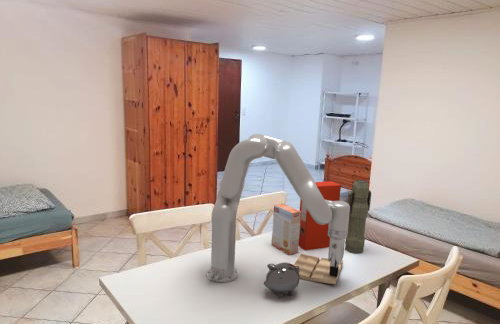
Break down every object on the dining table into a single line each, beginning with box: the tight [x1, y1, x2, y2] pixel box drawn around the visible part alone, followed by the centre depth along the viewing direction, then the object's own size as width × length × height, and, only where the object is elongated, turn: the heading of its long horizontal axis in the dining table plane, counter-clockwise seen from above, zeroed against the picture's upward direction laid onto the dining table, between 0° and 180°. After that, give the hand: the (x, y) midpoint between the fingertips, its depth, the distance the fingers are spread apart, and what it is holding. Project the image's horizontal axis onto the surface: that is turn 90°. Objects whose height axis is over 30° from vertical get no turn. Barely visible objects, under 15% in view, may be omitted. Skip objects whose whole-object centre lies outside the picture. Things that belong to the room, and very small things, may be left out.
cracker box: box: [271, 203, 301, 256], centre depth 175 cm, size 14×6×21 cm, turn 33°
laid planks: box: [293, 253, 321, 282], centre depth 158 cm, size 20×9×2 cm, turn 157°
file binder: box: [298, 180, 342, 252], centre depth 179 cm, size 8×17×32 cm, turn 111°
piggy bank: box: [263, 262, 301, 299], centre depth 137 cm, size 11×15×12 cm
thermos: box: [344, 179, 372, 255], centre depth 176 cm, size 9×12×35 cm
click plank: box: [311, 257, 344, 285], centre depth 154 cm, size 20×10×2 cm, turn 157°
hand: (333, 275), depth 147 cm, fingers closed
